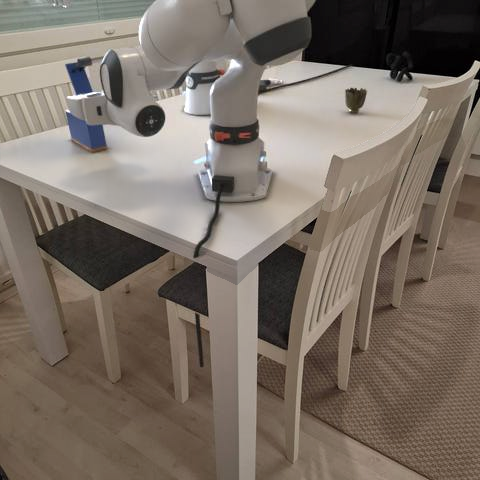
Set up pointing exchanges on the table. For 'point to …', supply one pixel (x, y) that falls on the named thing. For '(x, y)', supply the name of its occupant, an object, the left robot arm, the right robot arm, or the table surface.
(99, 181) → the table surface
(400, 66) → the squiggle
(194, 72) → the left robot arm
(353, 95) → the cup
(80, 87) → the lid
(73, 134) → the chest
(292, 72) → the table surface
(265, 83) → the spray bottle
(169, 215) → the table surface
